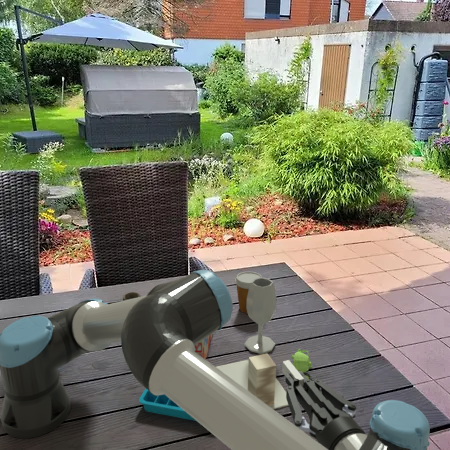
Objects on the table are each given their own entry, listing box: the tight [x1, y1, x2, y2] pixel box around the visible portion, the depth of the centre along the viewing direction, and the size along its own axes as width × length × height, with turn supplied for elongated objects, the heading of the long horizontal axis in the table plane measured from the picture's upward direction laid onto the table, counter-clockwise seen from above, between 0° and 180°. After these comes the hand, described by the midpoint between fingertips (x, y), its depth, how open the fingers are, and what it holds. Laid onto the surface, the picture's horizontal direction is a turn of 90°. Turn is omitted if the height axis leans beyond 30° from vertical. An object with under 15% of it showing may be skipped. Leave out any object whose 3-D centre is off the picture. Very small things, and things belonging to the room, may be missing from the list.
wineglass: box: [244, 276, 278, 355], centre depth 129 cm, size 9×9×21 cm
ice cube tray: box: [138, 387, 197, 422], centre depth 109 cm, size 12×20×3 cm, turn 76°
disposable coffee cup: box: [234, 271, 263, 314], centre depth 151 cm, size 10×10×12 cm
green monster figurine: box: [291, 348, 313, 379], centre depth 120 cm, size 6×5×6 cm
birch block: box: [248, 352, 277, 405], centre depth 109 cm, size 5×5×11 cm
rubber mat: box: [215, 359, 289, 410], centre depth 116 cm, size 14×20×1 cm
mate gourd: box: [122, 291, 141, 301], centre depth 145 cm, size 7×8×10 cm
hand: (285, 366), depth 95 cm, fingers closed
